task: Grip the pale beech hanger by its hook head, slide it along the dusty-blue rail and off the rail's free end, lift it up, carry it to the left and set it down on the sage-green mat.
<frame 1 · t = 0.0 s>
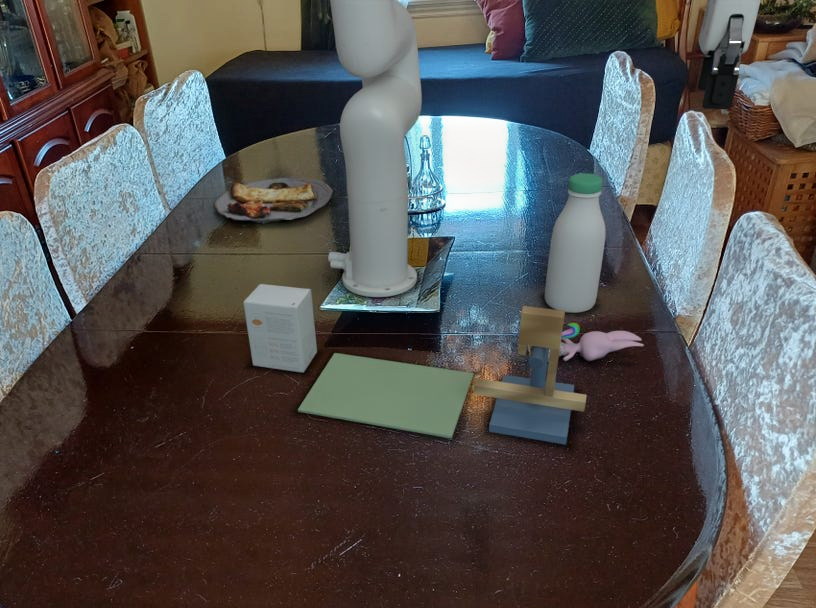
hand: (713, 98, 92), 31 cm above the table, tool pointing down, fingers open, 9 cm apart
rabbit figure: (581, 359, 100), on the table
hanger: (532, 399, 88), point 3 cm above the table, touching rail stand
rail stand: (532, 411, 91), on the table
mat: (388, 393, 96), on the table
milk bottle: (569, 303, 114), on the table
small box: (285, 360, 104), on the table
food plate: (274, 208, 155), on the table
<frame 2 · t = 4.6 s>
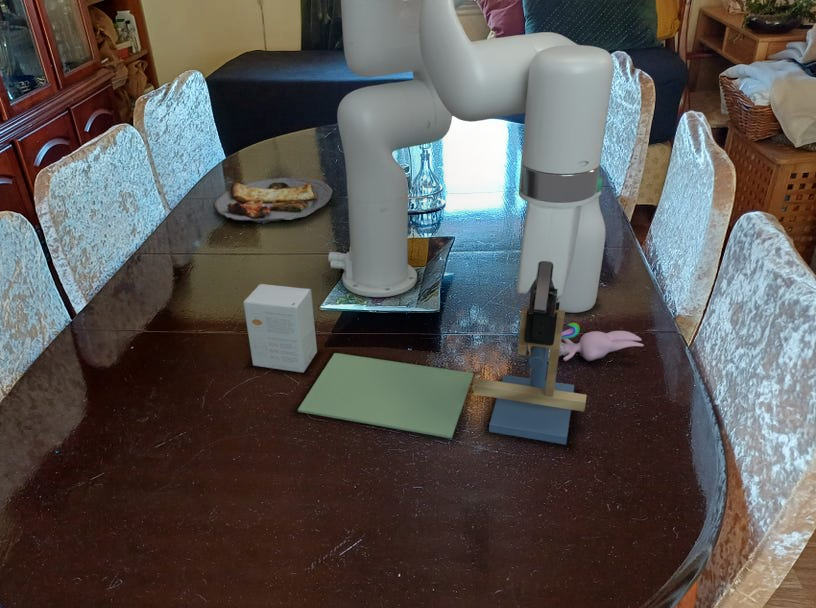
hand: (540, 336, 83), 12 cm above the table, tool pointing down, fingers closed on hanger, 1 cm apart
hanger: (532, 399, 88), point 3 cm above the table, touching gripper, rail stand
everything else where it was.
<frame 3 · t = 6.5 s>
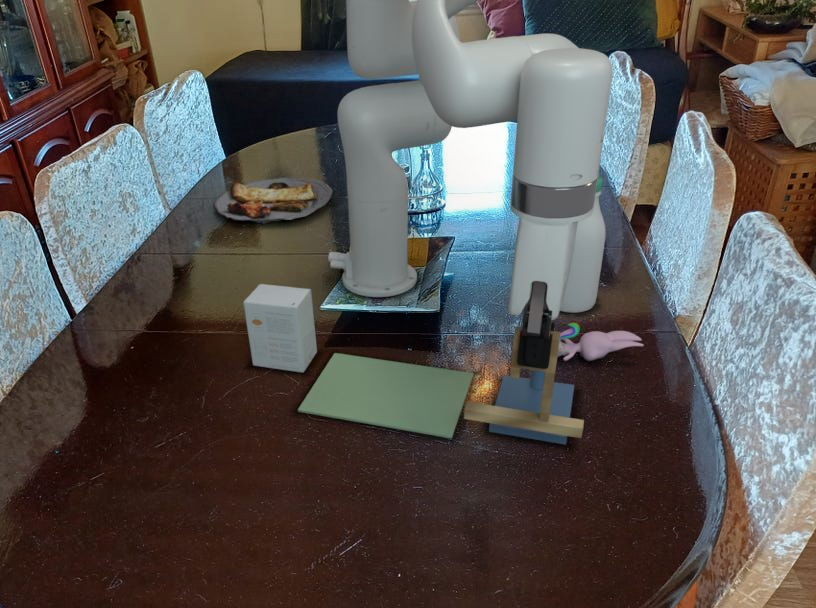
hand: (534, 358, 77), 13 cm above the table, tool pointing down, fingers closed on hanger, 1 cm apart
hanger: (526, 425, 82), point 4 cm above the table, touching gripper
everything else where it was.
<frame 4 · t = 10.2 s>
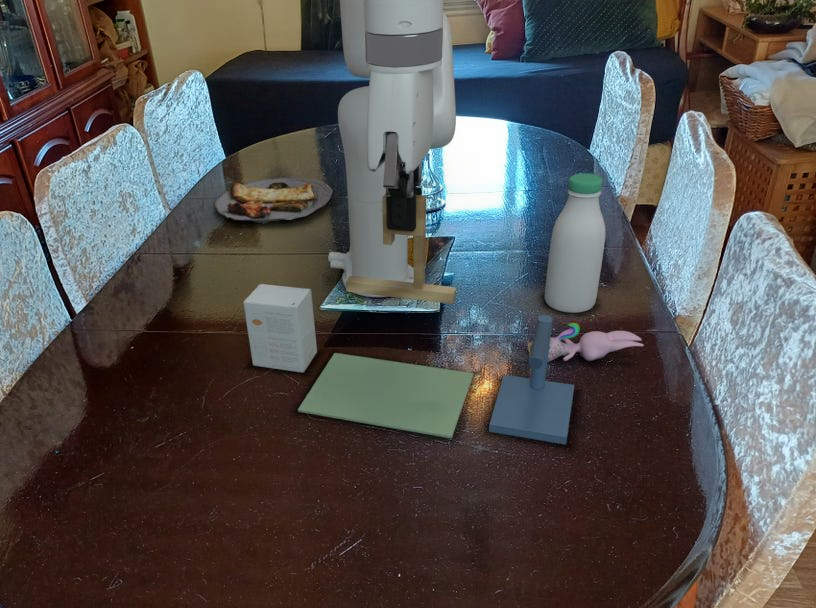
hand: (404, 224, 81), 24 cm above the table, tool pointing down, fingers closed on hanger, 1 cm apart
hanger: (404, 295, 86), point 15 cm above the table, touching gripper
everything else where it was.
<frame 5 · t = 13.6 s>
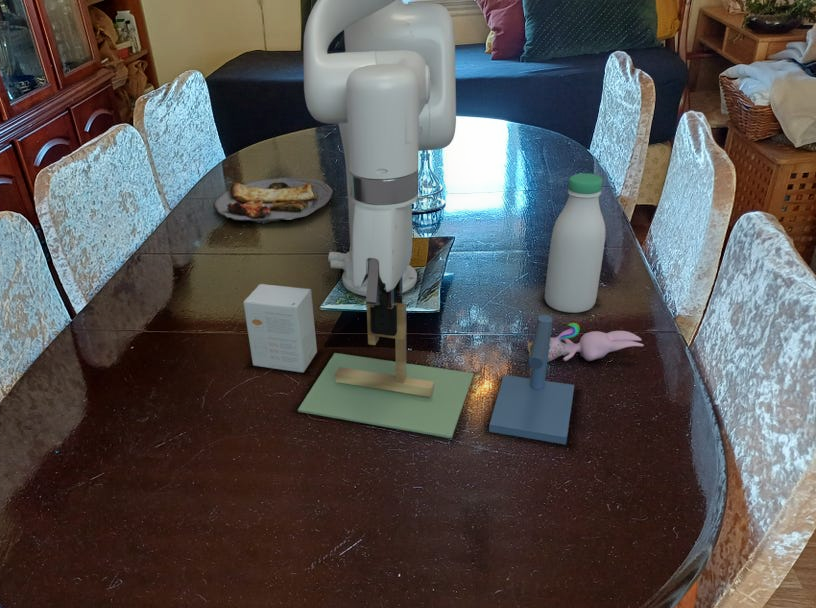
hand: (386, 327, 90), 10 cm above the table, tool pointing down, fingers closed on hanger, 1 cm apart
hanger: (387, 386, 95), point 1 cm above the table, touching gripper
everything else where it was.
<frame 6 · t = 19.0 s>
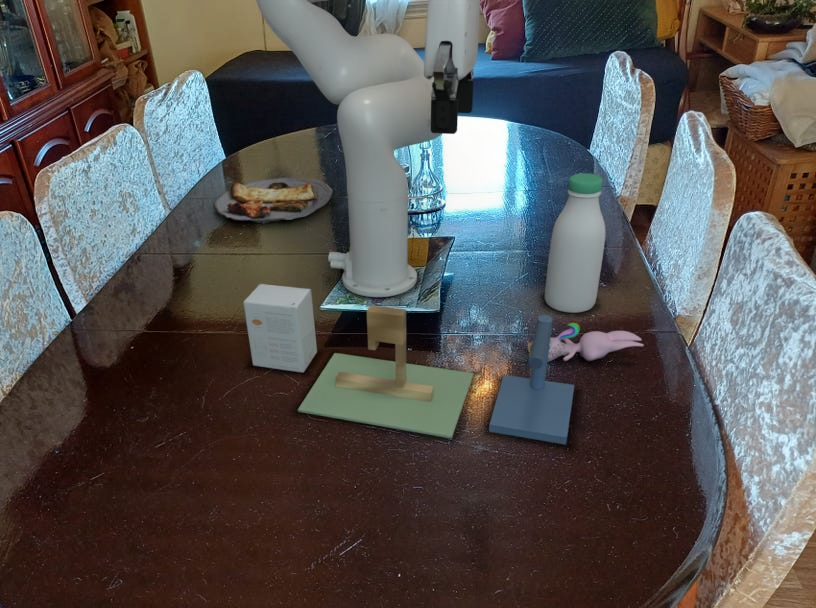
hand: (452, 122, 93), 30 cm above the table, tool pointing down, fingers open, 9 cm apart
hanger: (387, 391, 95), resting on mat
everything else where it was.
at the end: hanger inside the target area on the mat (0.1 cm from its centre), point 0.4 cm above the mat's base; hanger touching mat; the gripper is holding nothing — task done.
